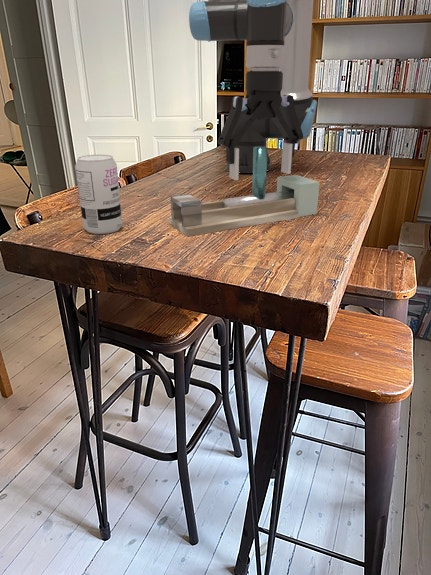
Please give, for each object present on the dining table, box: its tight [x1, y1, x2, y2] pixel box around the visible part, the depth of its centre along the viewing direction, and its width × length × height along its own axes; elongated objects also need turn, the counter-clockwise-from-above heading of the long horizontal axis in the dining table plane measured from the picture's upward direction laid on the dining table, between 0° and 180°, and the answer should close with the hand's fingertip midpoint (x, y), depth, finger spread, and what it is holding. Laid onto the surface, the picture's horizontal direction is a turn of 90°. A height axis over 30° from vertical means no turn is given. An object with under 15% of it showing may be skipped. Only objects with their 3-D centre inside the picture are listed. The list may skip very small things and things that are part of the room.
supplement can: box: [74, 154, 124, 235], centre depth 93 cm, size 8×8×15 cm
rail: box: [168, 193, 299, 237], centre depth 100 cm, size 10×28×6 cm, turn 117°
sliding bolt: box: [222, 146, 294, 208], centre depth 101 cm, size 3×20×14 cm, turn 117°
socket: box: [276, 174, 320, 218], centre depth 107 cm, size 9×6×8 cm, turn 27°
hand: (260, 175), depth 100 cm, fingers open, 13 cm apart
